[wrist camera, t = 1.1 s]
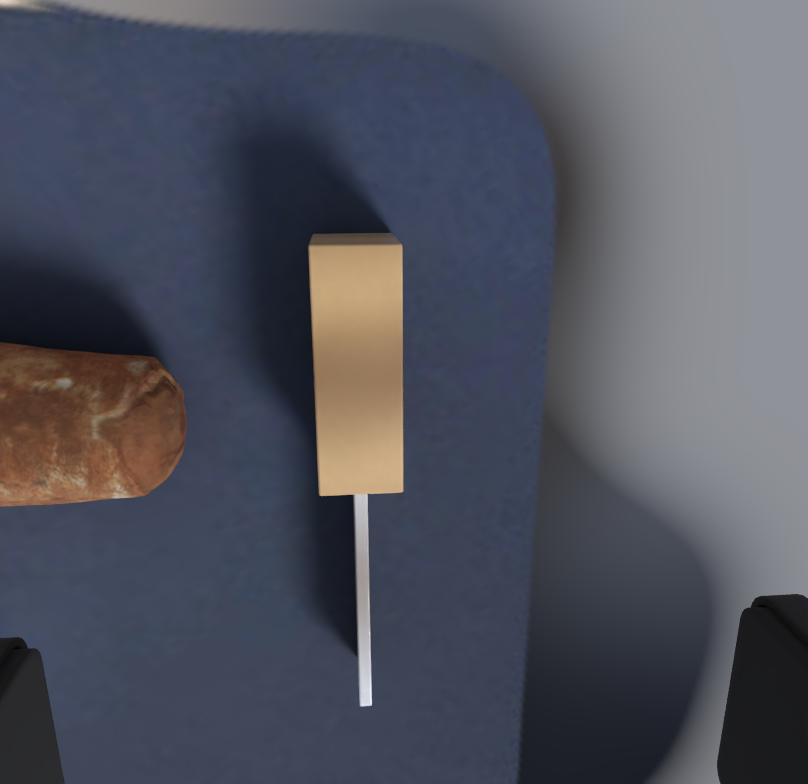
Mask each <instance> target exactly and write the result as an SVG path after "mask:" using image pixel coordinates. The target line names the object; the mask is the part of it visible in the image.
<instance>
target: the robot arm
mask: <svg viewBox="0 0 808 784" xmlns="http://www.w3.org/2000/svg"><path fill="white" fill-rule="evenodd" d="M717 769H718V776H719V780H720V783H721V784H808V598H806V597H805V596H803V595H798V594H791V595H773V596H760V597H757V598H755V600H754V601H753V603H752V605H751V608H747V609H744V611H743V612H742V615H741V618H740V624H739V630H738V636H737V643H736V649H735V655H734V661H733V667H732V673H731V680H730V687H729V692H728V698H727V704H726V711H725V717H724V723H723V729H722V735H721V742H720V748H719V754H718V760H717ZM0 784H65V783H64V778H63V772H62V767H61V761H60V756H59V750H58V745H57V739H56V734H55V728H54V723H53V718H52V712H51V707H50V701H49V696H48V690H47V685H46V679H45V674H44V668H43V663H42V658H41V654H40V652H39V651H38V649H35V648H32V649H28V648H27V644H26V643H25V641H24V640H23V639H22V638H19V637H16V638H0Z"/></svg>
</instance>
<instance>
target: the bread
mask: <svg viewBox="0 0 808 784" xmlns="http://www.w3.org/2000/svg"><path fill="white" fill-rule="evenodd" d="M186 430H187V416H186V410H185V403H184V392H183V390H182V389H181V387H180V385H179V384H178V382H177V381H176V379H175V378H174V377H173V376H172V375H171V374H170V373H169V372H168V371H167V370H166V369H165V368H164V367H163V365H162V364H161V362H160V361H159V360H158V359H157V358H156V357H149V356H141V355H115V354H104V353H95V352H83V351H69V350H59V349H50V348H41V347H34V346H28V345H20V344H12V343H4V342H0V506H23V505H47V504H62V503H75V502H85V501H94V500H100V499H113V498H132V497H139V496H144V495H147V494H149V493H150V492H151V491H152V490H153V489H155V488H156V487H157V486H158V485H160V484H161V483H162V482H164V481H165V480H166V479H167V478H168V476H169V475H170V474H171V473H172V471H173V470H174V468H175V467H176V465H177V464H178V462H179V460H180V458H181V455H182V453H183V450H184V447H185V440H186Z"/></svg>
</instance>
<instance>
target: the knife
mask: <svg viewBox="0 0 808 784" xmlns="http://www.w3.org/2000/svg"><path fill="white" fill-rule="evenodd" d="M308 255H309V278H310V302H311V325H312V348H313V371H314V394H315V417H316V440H317V464H318V487H319V495H320V496H332V495H353V508H354V545H355V582H356V618H357V655H358V679H359V702H360V706H371V705H372V688H371V640H370V591H369V543H368V494H379V493H401V492H403V267H402V244H401V243H400V242H399V240H398V239H397V238H396V237H395V236H394V235H393V234H392V233H342V234H313V235H312V238H311V241H310V243H309V246H308Z"/></svg>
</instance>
